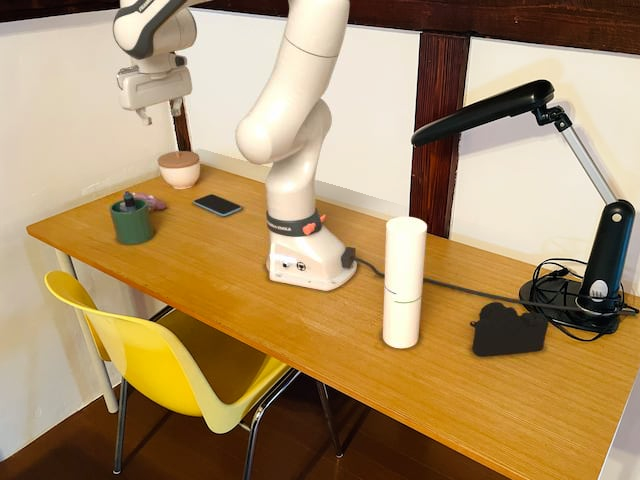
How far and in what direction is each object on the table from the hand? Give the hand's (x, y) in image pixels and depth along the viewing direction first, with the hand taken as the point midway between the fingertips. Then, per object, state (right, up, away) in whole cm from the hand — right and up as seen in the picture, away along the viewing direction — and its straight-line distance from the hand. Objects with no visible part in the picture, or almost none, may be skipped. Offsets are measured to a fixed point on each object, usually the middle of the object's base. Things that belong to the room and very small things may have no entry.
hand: (162, 120), depth 134 cm
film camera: (+78, -52, -28) cm, 98 cm away
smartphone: (+7, -19, +25) cm, 32 cm away
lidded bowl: (-7, -10, +39) cm, 41 cm away
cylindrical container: (+58, -51, -27) cm, 82 cm away
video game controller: (-13, -20, +22) cm, 33 cm away
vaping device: (-11, -28, +8) cm, 31 cm away
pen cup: (-10, -29, +9) cm, 32 cm away
